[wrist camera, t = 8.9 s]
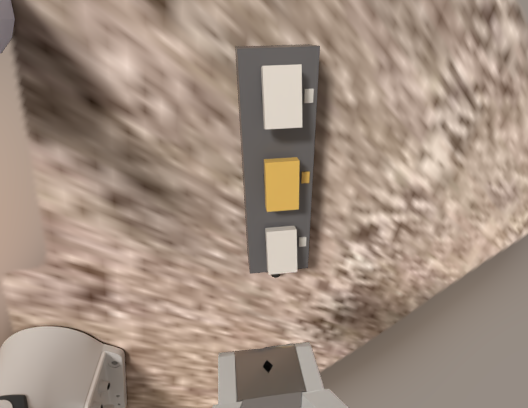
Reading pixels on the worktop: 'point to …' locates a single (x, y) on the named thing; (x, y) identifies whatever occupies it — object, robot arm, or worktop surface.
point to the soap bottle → (6, 23)
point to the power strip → (275, 146)
